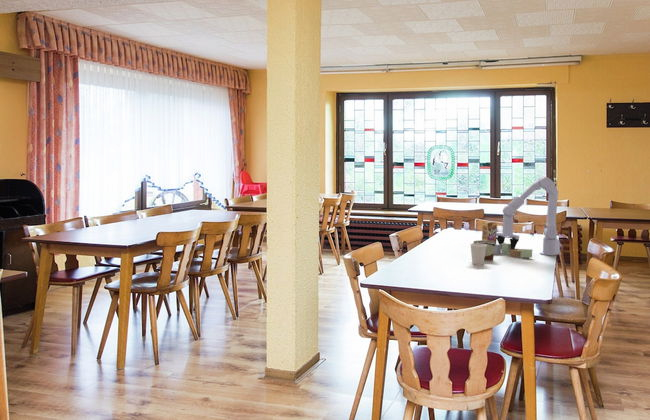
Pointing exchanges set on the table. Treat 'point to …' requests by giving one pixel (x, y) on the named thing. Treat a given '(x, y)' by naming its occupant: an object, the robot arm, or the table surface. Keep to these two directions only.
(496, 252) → the slate block
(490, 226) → the candy box
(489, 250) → the food container
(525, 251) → the pale green block
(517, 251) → the walnut plinth
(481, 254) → the dixie cup
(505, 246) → the sage block
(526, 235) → the table surface
